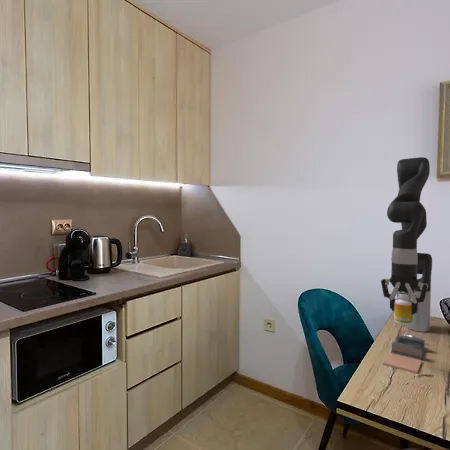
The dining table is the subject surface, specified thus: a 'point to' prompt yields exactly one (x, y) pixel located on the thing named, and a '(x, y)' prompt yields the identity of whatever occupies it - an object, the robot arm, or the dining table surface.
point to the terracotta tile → (402, 362)
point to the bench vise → (409, 346)
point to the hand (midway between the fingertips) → (403, 311)
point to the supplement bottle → (403, 309)
